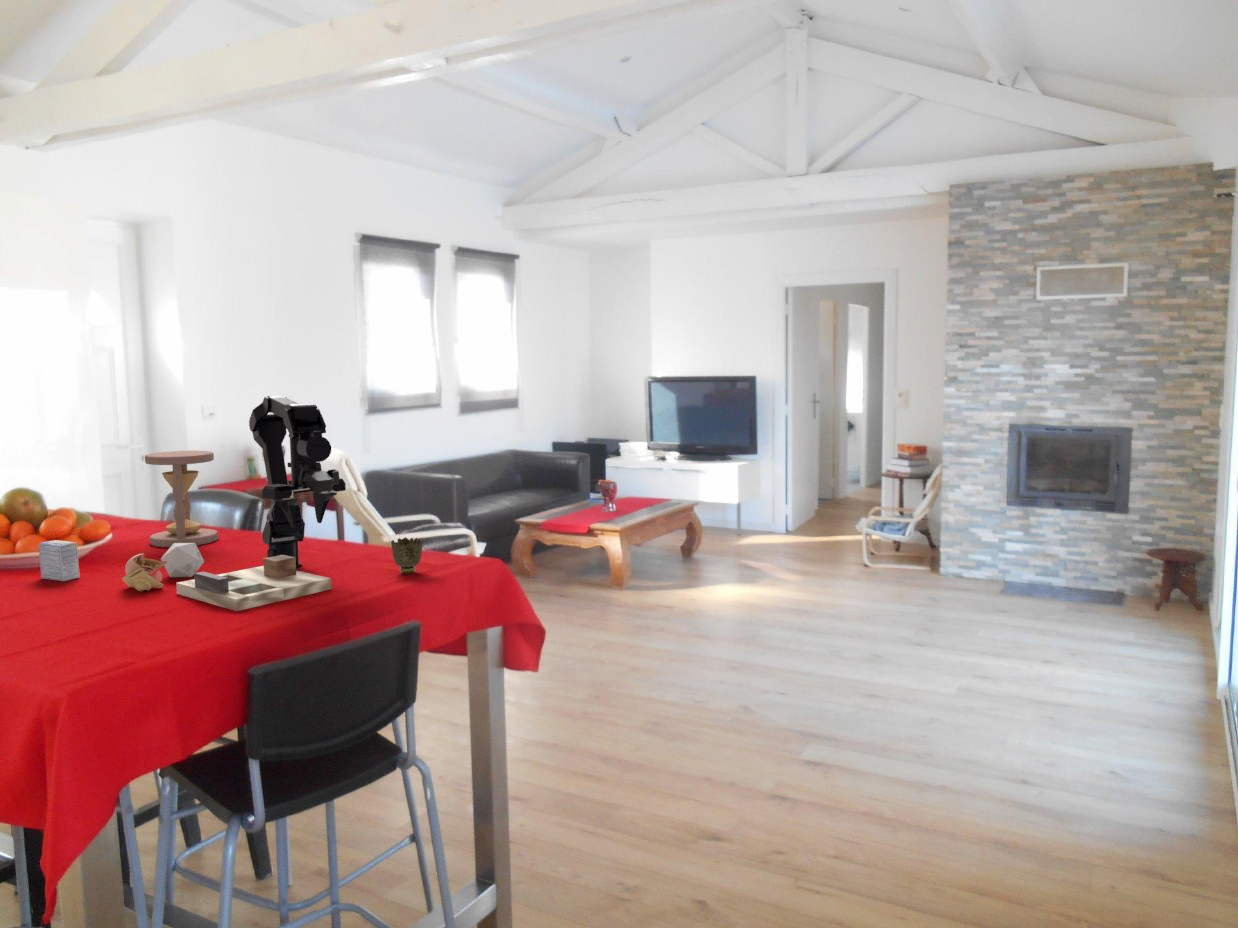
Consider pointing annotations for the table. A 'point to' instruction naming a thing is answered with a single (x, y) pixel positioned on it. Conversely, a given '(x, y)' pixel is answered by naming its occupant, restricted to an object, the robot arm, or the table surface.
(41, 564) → the stool softener box
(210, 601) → the board
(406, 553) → the cup
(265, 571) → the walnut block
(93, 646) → the table surface
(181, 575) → the die
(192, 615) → the table surface
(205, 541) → the hourglass
